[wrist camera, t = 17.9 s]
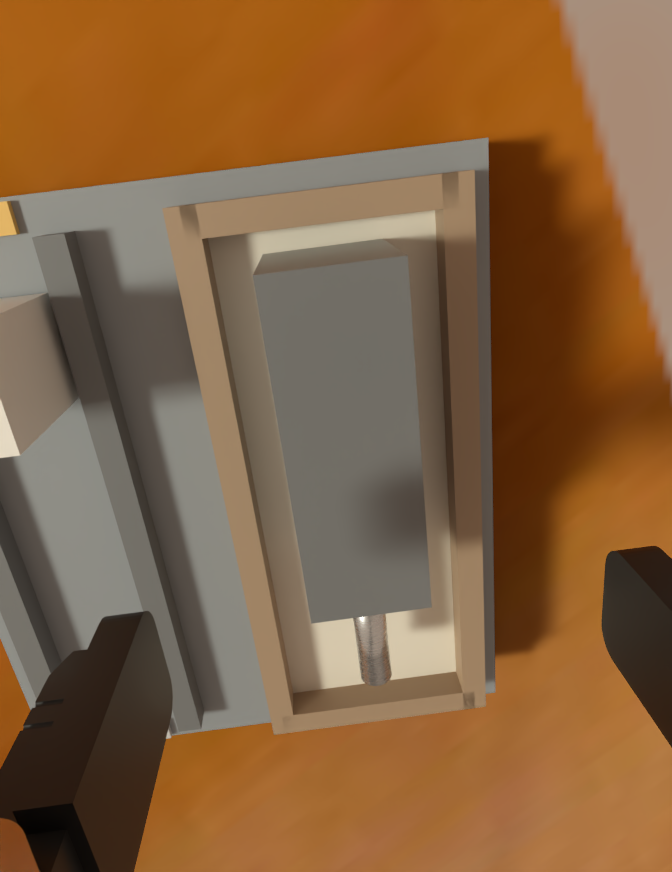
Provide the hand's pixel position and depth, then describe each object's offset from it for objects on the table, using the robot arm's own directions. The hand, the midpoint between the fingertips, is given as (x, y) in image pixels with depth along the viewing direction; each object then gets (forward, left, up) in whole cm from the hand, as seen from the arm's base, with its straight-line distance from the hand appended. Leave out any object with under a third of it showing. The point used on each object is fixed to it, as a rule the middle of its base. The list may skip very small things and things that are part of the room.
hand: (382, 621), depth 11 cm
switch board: (-2, +4, -10) cm, 11 cm away
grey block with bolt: (-1, 0, -8) cm, 8 cm away
